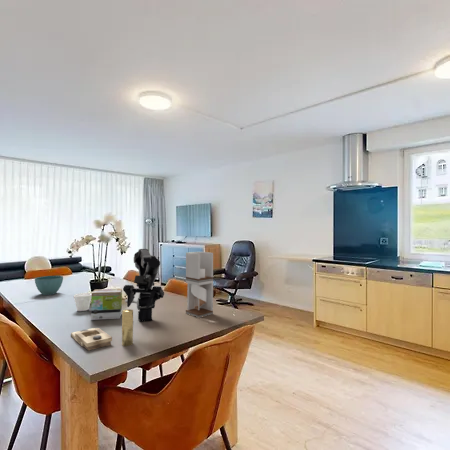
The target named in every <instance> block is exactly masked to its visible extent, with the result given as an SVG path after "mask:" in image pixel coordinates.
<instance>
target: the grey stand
mask: <svg viewBox="0 0 450 450" xmlns="http://www.w3.org/2000/svg"><path fill="white" fill-rule="evenodd" d="M185 283H186V284H187V297H186V298H187V301H186V302H187V308H186V309H185V314H186V313H187V314H186V315H188V314H190V315H189V316H191V315H193V316H192V317H194V316H196V317H195V318H197V317H200V318H203V317H202V316H204V317H208V316H211V314H212V315H214V252H210V251H209V252H208V251H190V252H188V251H187V252H185ZM207 315H208V316H207Z"/></svg>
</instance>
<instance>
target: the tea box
mask: <svg viewBox="0 0 450 450" xmlns="http://www.w3.org/2000/svg"><path fill="white" fill-rule="evenodd" d="M91 294H92V296H91V302H90V321H94V320H95V321H97V320H98V321H99V320H113V319H114V320H115V319H116V320H117V319H118V320H119V319H121V317H122V311H123V310H122V309H123V308H122V306H123V304H122V302H123V288H101V289H94V290H93V291H92V293H91Z"/></svg>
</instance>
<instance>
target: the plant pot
mask: <svg viewBox="0 0 450 450" xmlns="http://www.w3.org/2000/svg"><path fill="white" fill-rule="evenodd" d="M63 280H64V276H63V275H47V276H46V275H45V276H40V277H39V276H38V277H35V278H34V283H35V284H34V285H35V287H36V289H37V290H38V292H39V293H40V294H41V295H43V296H52V295H55V294H57V292H58V291H60V288H61V287H62V284H63Z"/></svg>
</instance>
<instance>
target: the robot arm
mask: <svg viewBox="0 0 450 450" xmlns="http://www.w3.org/2000/svg"><path fill="white" fill-rule="evenodd" d="M133 264H134V266H135V268H136V269H137V270H138V275H135V277H134V280H133V283H135V284H136V287H138V288H136V287H134V284H125V285H123V288H122V291H123V292H124V294H126V296H127V299H126V300H127V302H126V303H127V304H126V307H127V308H129V307H131V304H132V301H133V299H136V297H135V296H136V294H137V293H138V298H137V300H138V301H137V303H136V309H137V310H138V311H137V319H138V321H139V323H142V322H143V323H144V322H151V321H153V309H155V306H156V301H158V300H160V299H163V298H164V295H165V292H164V290H163V288H162V286H157V285H156V286H155V280H156V278H157V275H158V272H159V269H160V265H161V261H160V259H158V258H157V257H156V255H152V254H151V253H150V252H149V249H147V248H139V249H138V251H137V252H135V253H134V255H133Z"/></svg>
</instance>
